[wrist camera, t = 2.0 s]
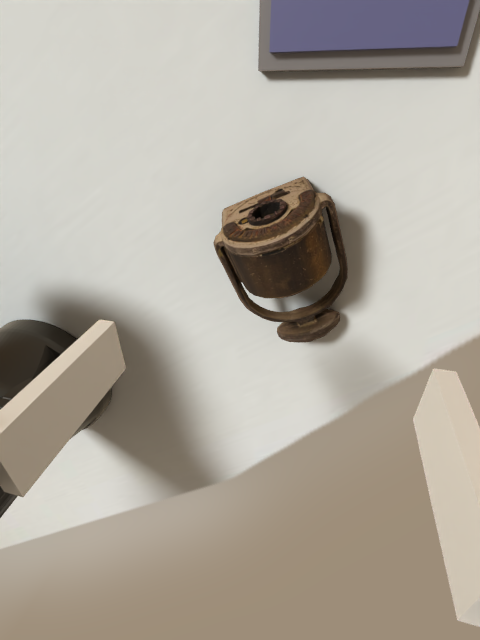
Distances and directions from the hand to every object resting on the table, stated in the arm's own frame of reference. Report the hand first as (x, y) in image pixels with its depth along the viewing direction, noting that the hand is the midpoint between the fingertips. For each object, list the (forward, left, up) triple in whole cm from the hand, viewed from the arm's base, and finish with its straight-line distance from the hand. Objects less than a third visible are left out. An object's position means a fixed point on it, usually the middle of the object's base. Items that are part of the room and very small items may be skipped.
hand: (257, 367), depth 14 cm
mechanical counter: (0, -1, -15) cm, 15 cm away
